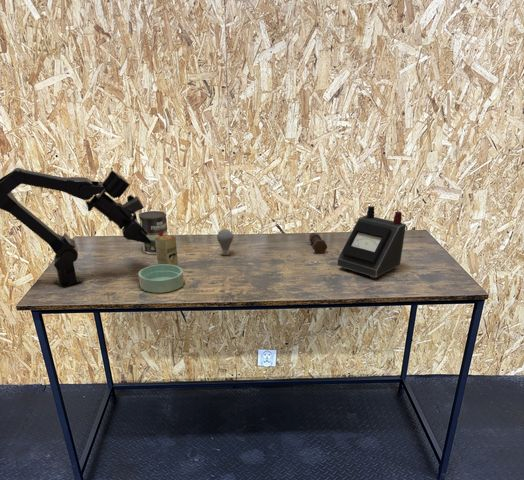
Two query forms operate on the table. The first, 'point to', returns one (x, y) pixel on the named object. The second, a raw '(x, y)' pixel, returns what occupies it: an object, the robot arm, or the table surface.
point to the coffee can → (153, 228)
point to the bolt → (318, 243)
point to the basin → (161, 278)
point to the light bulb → (225, 240)
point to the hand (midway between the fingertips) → (148, 238)
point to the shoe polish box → (166, 250)
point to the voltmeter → (373, 245)
